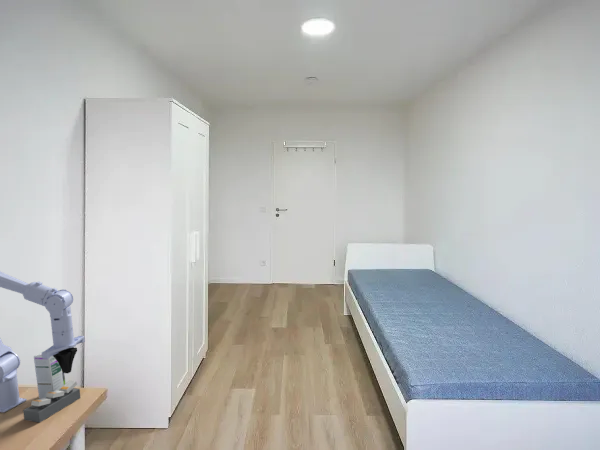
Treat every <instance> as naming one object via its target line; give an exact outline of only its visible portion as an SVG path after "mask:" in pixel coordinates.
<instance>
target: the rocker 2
mask: <svg viewBox="0 0 600 450" xmlns="http://www.w3.org/2000/svg"><path fill="white" fill-rule="evenodd" d="M60 396H64V391H59V390H57V391H53V392H48V393H46V397H49V398H56V397H60Z"/></svg>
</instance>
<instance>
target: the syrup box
mask: <svg viewBox="0 0 600 450" xmlns="http://www.w3.org/2000/svg"><path fill="white" fill-rule="evenodd" d="M44 351H45V350H44ZM44 351H42V352H44ZM42 352H39V353H38V354H35V355H34V356H33V362H34V368H35V369H34V370H35V377H36V384H37V392H38V398H39V399H42V398H46V393H48V392H53V391H57V390H60V388H61V387H63V386H64V385H65V384H66V378H65V373H63V372H62V369H61V367H60V365H59V363H58V361H57V360H56V359H55V358H54V357H53V356H51V357H50V358H49V359H42Z"/></svg>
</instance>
